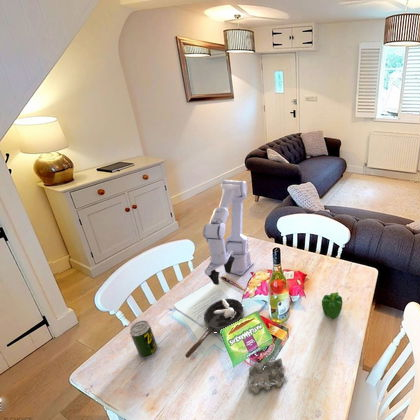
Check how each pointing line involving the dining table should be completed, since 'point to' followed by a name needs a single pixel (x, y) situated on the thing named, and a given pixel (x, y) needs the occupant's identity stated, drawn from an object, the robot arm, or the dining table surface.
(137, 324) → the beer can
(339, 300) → the bell pepper
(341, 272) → the dining table surface
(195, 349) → the pan handle
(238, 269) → the robot arm
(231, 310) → the rabbit figurine
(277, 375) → the egg carton
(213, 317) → the pan
